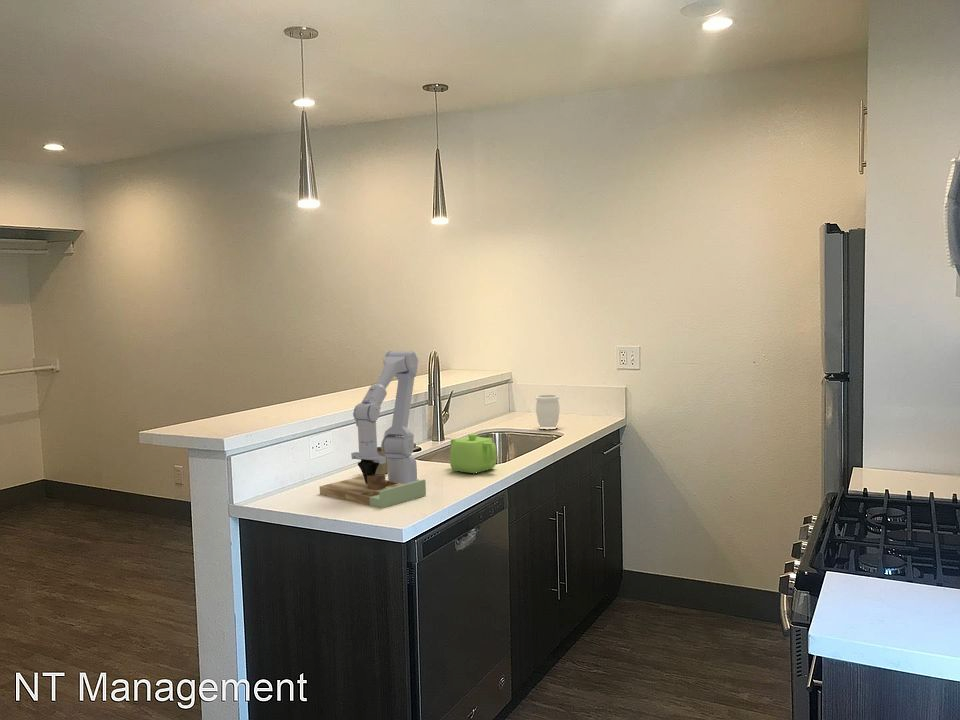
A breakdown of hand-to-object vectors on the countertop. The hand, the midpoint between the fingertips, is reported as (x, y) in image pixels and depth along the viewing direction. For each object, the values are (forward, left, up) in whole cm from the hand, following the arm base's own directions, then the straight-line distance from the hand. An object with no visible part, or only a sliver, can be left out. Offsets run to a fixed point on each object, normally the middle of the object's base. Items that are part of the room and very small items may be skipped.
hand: (369, 483), depth 256 cm
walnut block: (0, +3, -1) cm, 4 cm away
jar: (-127, -26, -4) cm, 130 cm away
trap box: (0, +1, -3) cm, 4 cm away
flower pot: (-22, -21, -4) cm, 31 cm away
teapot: (-46, +4, -4) cm, 46 cm away
